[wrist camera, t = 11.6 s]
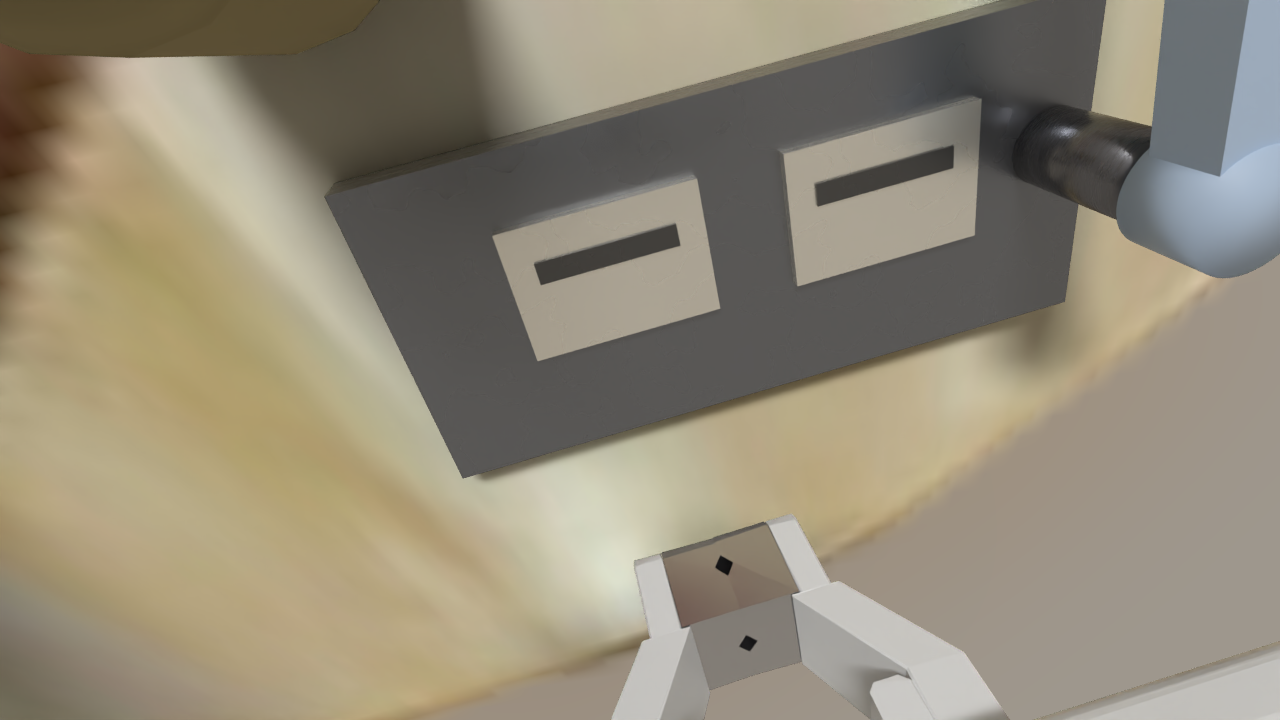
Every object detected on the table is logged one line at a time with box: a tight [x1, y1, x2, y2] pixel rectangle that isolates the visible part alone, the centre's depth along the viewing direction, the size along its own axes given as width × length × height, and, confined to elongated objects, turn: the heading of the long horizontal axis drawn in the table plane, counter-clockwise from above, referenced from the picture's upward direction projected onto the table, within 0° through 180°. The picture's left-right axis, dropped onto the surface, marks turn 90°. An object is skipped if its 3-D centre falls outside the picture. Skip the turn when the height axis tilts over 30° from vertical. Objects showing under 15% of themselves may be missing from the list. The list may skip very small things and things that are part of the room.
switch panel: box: [325, 0, 1152, 478], centre depth 23 cm, size 26×12×6 cm, turn 103°
